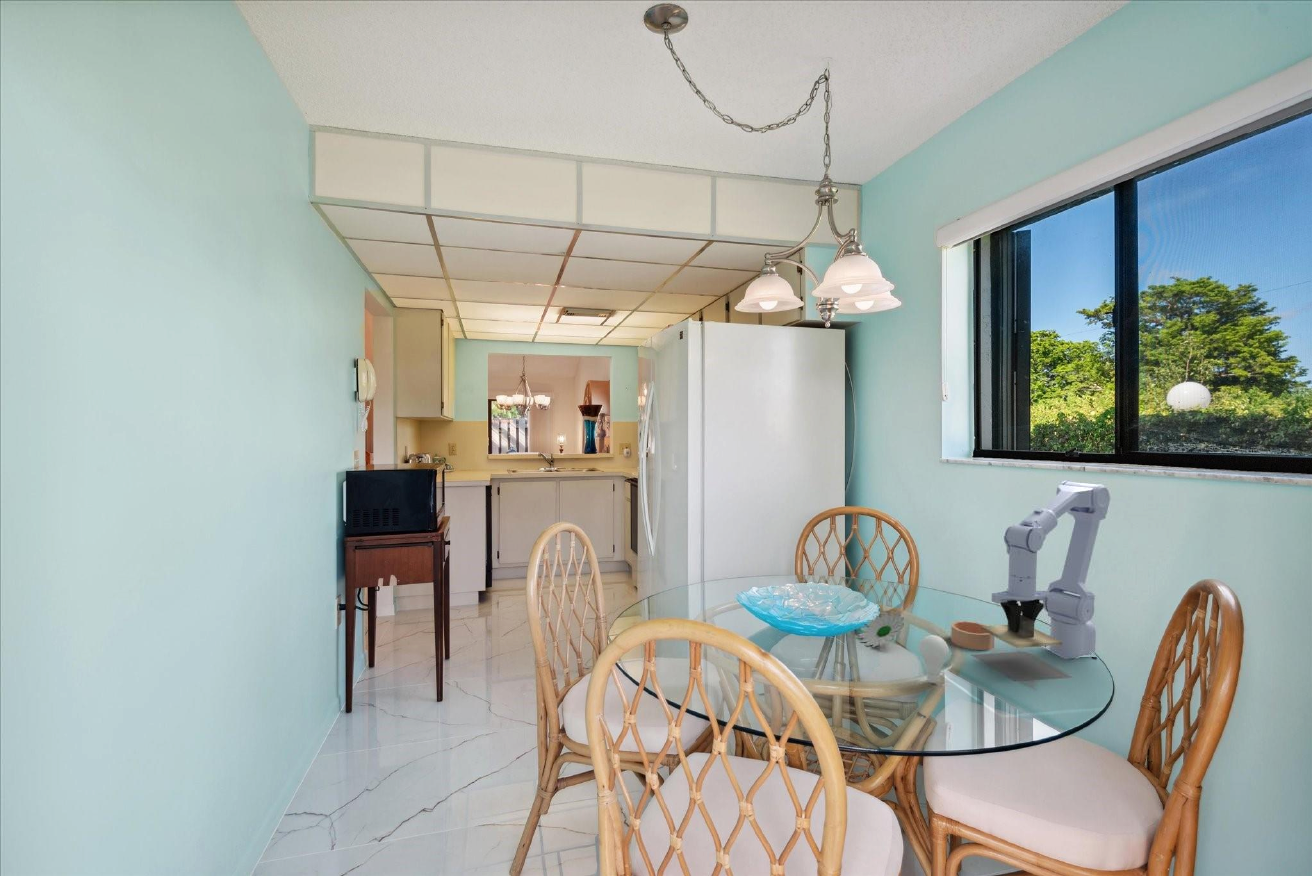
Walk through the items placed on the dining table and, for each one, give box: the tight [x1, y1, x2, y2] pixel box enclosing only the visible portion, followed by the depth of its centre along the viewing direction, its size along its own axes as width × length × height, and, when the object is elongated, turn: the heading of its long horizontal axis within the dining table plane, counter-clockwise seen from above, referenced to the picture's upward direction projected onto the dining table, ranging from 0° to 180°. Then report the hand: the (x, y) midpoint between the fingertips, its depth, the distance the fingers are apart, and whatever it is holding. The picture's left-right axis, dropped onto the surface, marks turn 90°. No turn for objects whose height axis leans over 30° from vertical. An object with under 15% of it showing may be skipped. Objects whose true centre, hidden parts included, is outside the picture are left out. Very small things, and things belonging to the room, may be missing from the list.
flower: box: [858, 610, 905, 648], centre depth 172 cm, size 13×6×30 cm
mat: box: [971, 651, 1073, 682], centre depth 148 cm, size 15×15×1 cm
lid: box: [981, 614, 1062, 649], centre depth 148 cm, size 12×12×5 cm
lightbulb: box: [918, 634, 950, 685], centre depth 139 cm, size 6×6×11 cm
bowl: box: [950, 620, 995, 651], centre depth 163 cm, size 10×10×4 cm
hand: (1020, 630), depth 148 cm, fingers closed on lid, 3 cm apart
